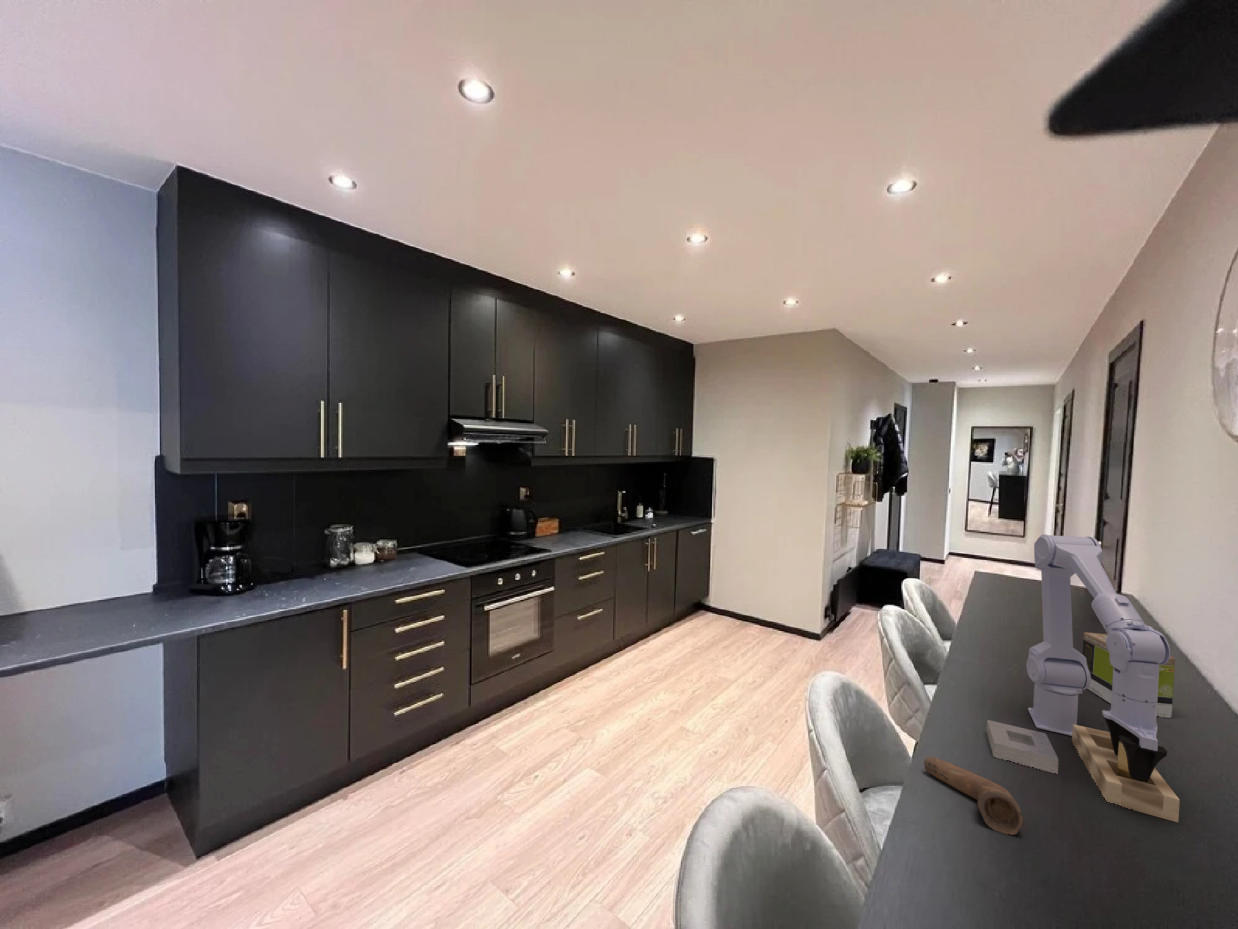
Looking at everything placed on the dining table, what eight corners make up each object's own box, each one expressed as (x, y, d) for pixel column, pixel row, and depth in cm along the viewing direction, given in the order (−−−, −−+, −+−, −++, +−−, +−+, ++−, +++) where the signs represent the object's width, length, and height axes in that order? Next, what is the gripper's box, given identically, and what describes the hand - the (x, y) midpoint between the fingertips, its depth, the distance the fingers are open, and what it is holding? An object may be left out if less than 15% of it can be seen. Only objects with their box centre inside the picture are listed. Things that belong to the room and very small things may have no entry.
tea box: (1174, 719, 116) (1177, 658, 115) (1123, 714, 118) (1127, 653, 117) (1122, 688, 130) (1125, 634, 130) (1078, 684, 132) (1081, 630, 132)
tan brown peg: (1113, 785, 93) (1116, 738, 92) (1137, 791, 91) (1139, 744, 91) (1119, 795, 90) (1122, 747, 90) (1144, 802, 88) (1147, 753, 88)
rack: (1071, 742, 106) (1072, 724, 106) (1129, 756, 101) (1130, 737, 101) (1106, 802, 88) (1107, 781, 88) (1178, 822, 83) (1179, 799, 83)
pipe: (933, 742, 98) (910, 751, 92) (1039, 790, 84) (1020, 804, 78) (929, 775, 97) (906, 787, 92) (1036, 828, 84) (1016, 846, 78)
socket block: (986, 733, 109) (987, 719, 109) (1045, 747, 104) (1045, 733, 104) (993, 757, 100) (994, 743, 100) (1057, 774, 95) (1058, 759, 95)
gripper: (1091, 673, 98) (1088, 740, 98) (1119, 706, 85) (1115, 782, 86) (1141, 682, 94) (1137, 751, 95) (1177, 718, 82) (1172, 797, 82)
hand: (1130, 767), depth 90 cm, fingers open, 7 cm apart
